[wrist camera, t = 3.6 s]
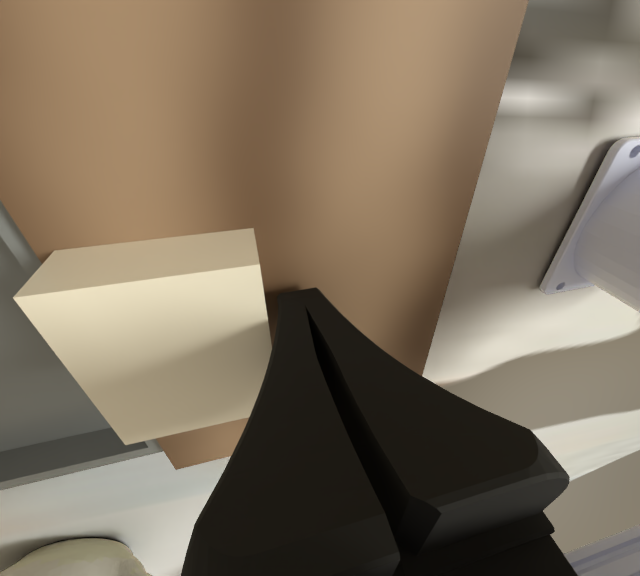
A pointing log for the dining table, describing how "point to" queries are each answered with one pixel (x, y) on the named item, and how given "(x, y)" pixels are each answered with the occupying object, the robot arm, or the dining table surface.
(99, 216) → the board
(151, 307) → the tile
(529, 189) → the dining table surface
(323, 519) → the robot arm
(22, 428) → the tray
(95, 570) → the teacup
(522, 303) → the dining table surface
